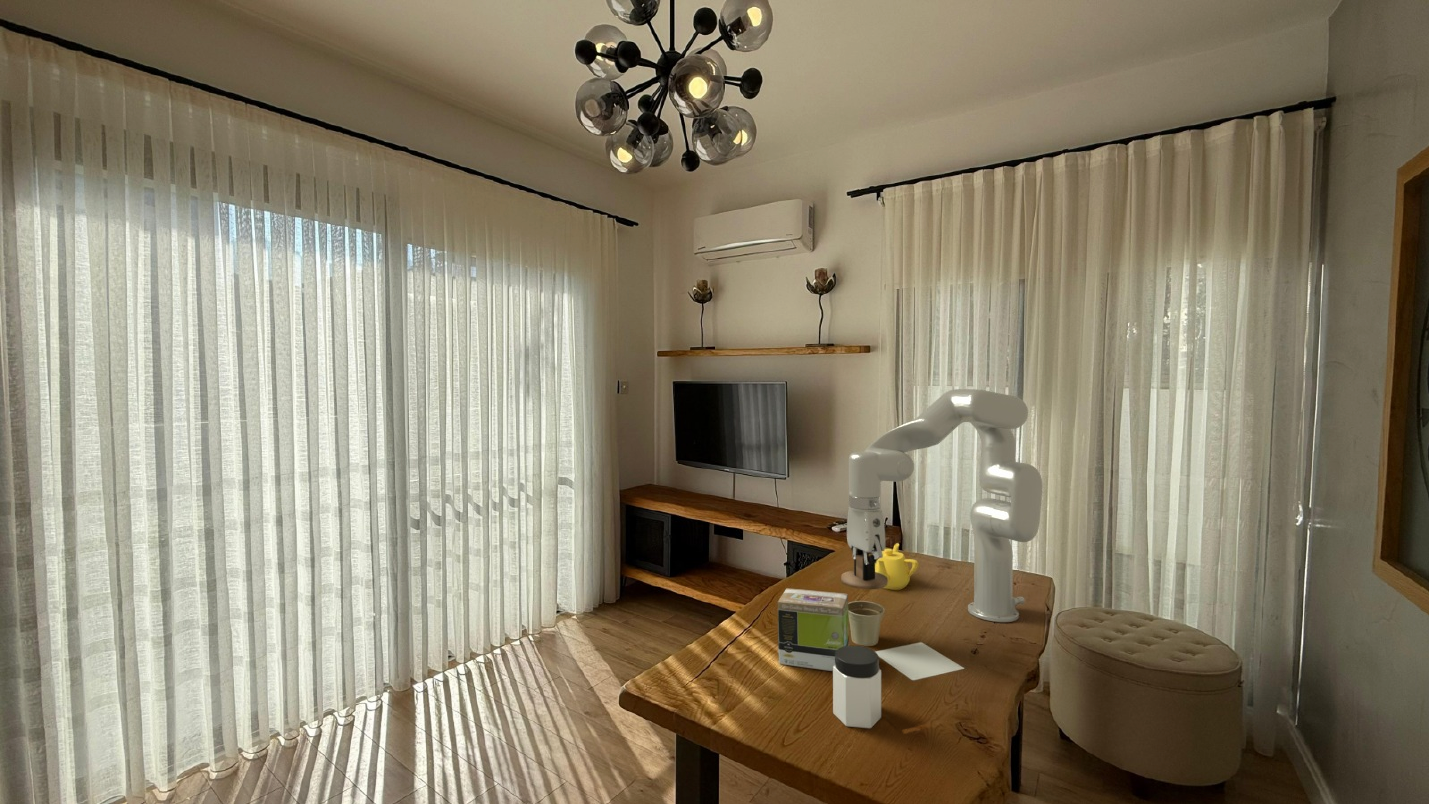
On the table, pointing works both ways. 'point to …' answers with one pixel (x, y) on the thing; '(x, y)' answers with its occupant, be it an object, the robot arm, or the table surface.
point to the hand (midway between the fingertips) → (864, 576)
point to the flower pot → (865, 622)
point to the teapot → (895, 568)
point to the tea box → (812, 627)
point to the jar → (857, 686)
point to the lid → (858, 581)
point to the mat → (918, 661)
